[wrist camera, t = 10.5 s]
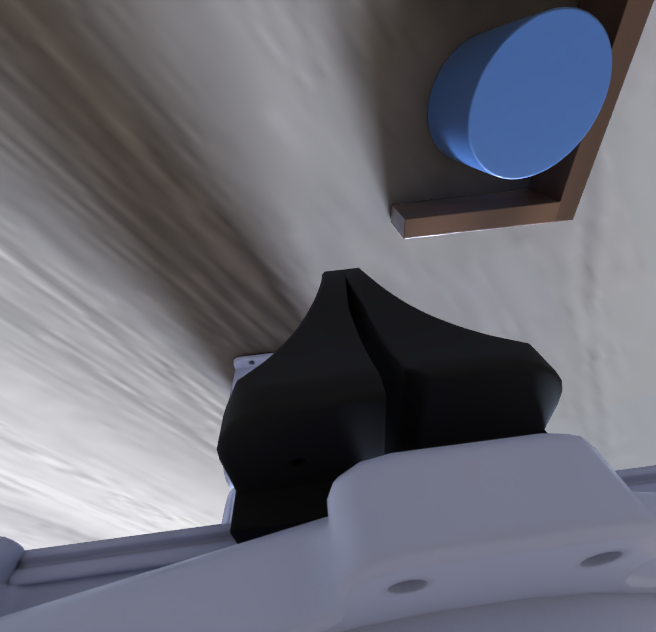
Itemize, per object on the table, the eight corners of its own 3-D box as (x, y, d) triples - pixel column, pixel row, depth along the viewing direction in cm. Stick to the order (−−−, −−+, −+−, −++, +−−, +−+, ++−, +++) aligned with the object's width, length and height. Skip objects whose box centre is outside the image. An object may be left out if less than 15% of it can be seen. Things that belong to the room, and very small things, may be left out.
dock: (390, 222, 21) (403, 239, 18) (400, -57, 14) (423, -91, 11) (540, 205, 21) (573, 219, 19) (626, -78, 14) (697, -115, 12)
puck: (422, 166, 19) (457, 185, 15) (433, 35, 16) (483, 13, 11) (518, 156, 19) (579, 172, 15) (551, 24, 16) (641, -1, 12)
